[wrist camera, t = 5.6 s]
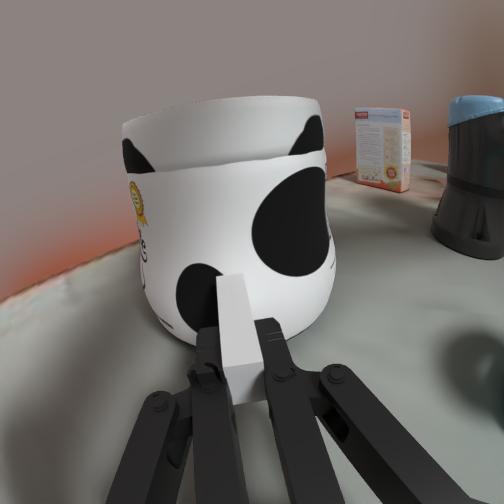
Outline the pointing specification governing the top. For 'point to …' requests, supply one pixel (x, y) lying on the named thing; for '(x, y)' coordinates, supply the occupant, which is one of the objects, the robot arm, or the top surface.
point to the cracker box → (383, 148)
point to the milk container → (232, 209)
